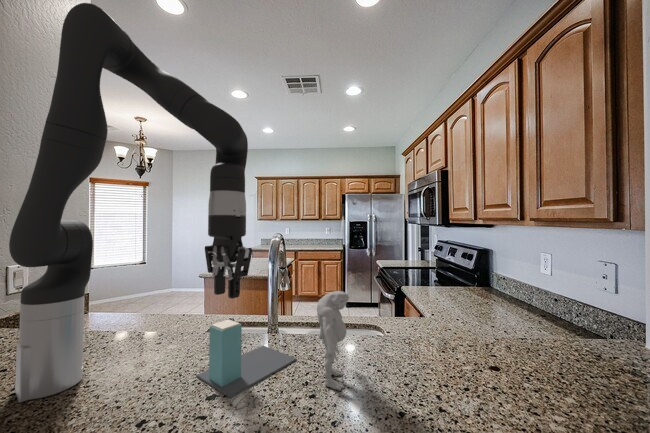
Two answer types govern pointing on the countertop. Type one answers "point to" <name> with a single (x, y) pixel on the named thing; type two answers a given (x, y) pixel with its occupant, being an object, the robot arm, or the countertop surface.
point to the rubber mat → (252, 369)
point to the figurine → (332, 331)
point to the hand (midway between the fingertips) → (226, 295)
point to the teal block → (225, 352)
